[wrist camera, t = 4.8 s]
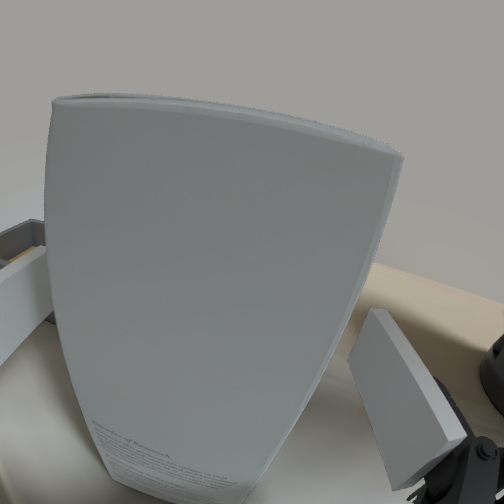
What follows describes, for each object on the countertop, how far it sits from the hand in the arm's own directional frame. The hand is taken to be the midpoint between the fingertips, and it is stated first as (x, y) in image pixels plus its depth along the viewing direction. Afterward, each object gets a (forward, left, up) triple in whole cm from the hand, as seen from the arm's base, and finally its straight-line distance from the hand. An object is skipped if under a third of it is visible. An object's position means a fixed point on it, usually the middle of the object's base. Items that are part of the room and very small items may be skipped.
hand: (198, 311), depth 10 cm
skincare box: (0, +1, -9) cm, 9 cm away
